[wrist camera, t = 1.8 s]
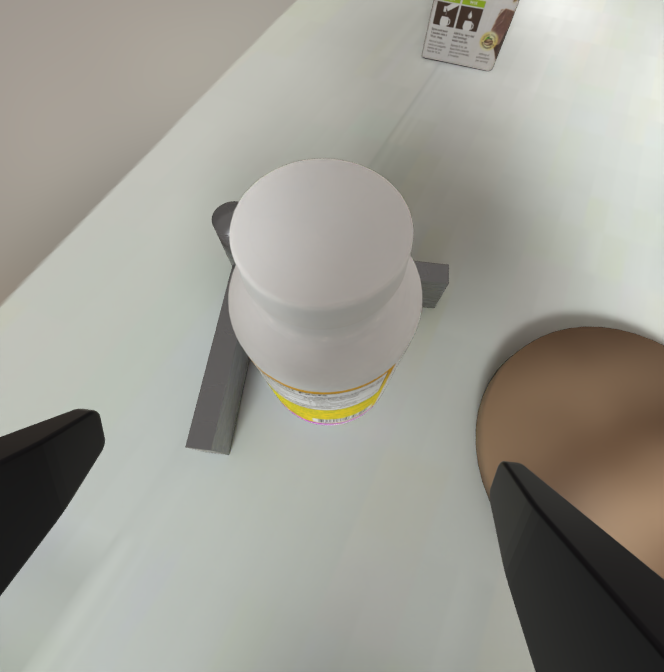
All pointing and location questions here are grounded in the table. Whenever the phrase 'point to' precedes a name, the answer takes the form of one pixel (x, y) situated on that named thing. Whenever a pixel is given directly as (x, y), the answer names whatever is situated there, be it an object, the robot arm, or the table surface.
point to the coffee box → (468, 31)
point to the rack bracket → (232, 361)
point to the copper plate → (586, 428)
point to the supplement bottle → (324, 285)
